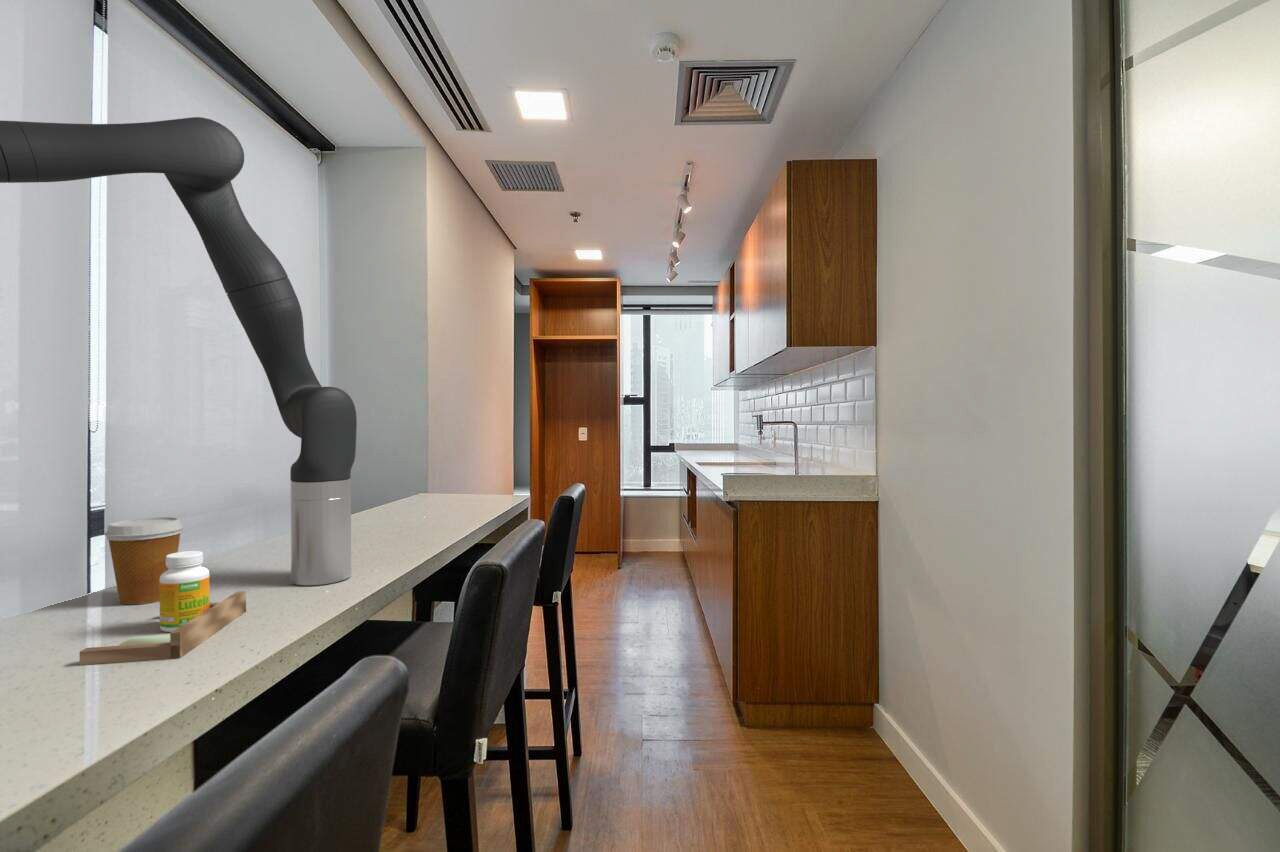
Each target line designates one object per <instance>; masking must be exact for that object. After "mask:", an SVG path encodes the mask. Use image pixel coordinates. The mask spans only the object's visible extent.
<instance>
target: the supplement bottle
mask: <svg viewBox="0 0 1280 852" xmlns="http://www.w3.org/2000/svg"><path fill="white" fill-rule="evenodd" d="M203 563H204V553H203V551H200V550H191V551H190V550H188V551H178V553H173V554H169V555H167V556H166V567H168V571H166V572H164V573H163V574H162V575H161V576H160V583H159V586H160V601H159V628H160V630H161V631H162V632H167V633H171V632H173V631H174V630H176V629H177V628H179V627H181V626H182V625H184V624H186V623H187V622H189V621H190V620H192V619H194V618H195V617H197V616H199V615H200V614H202V613H203V612H205V611H207V610H208V609H210V603H211V602H210V601H211V600H210V598H211V597H210V596H211V595H210V592H211V591H210V589H211V588H210V585H211V584H210V578H211V577H210V576H211V575H210V570H209V569H208V568H207V567H205V566H202V564H203Z"/></svg>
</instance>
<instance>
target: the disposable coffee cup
mask: <svg viewBox="0 0 1280 852" xmlns="http://www.w3.org/2000/svg"><path fill="white" fill-rule="evenodd" d="M183 529H185V525H183V524H182V521H181V518H180V517H173V516H159V517H158V516H157V517H156V516H155V517H142V518H134V519H125V520H119V521H115V522H111V523H108V526H107V529H106V531H105V532H104V534H103V535H104V536H105V537H106V540H108V543H109V550H110V555H111V561H112V566H113V572H114V578H115V579H114V580H115V583H116V589H117V594H118V600H119V601H118V602H119V604H120V603H122V604H121V605H125V604H136V605H145V604H144V603H146V604H150V603H151V602H152V603H155V602H156V601H157V602H160V586H159V583H160V576H161V575H162V574H163V573H164V572H166V571H168V567H166V556H167V555H169V554H173V553H178V552H179V547H180V546H179V545H180V538H181V533H183ZM152 603H151V604H152Z"/></svg>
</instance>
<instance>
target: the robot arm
mask: <svg viewBox="0 0 1280 852" xmlns="http://www.w3.org/2000/svg"><path fill="white" fill-rule="evenodd" d="M244 152H245V151H244V149H243V146H242V144H241V142H240V140H239V139H238V137H237V136H236V135H235V133H234V132H233V131H231V130H230V129H229V128H228V127H227V126H225V125H223V124H221V123H220V122H218V121H217V120H213V119H210V118H205V117H202V116H201V117H200V116H194V117H192V116H191V117H183V118H175V119H165V120H156V121H146V122H129V123H126V122H125V123H65V122H42V121H41V122H39V121H23V120H21V121H20V120H0V184H2V183H5V184H7V183H8V184H13V183H15V184H16V183H17V184H19V183H21V184H22V183H25V184H26V183H28V184H29V183H56V182H68V181H69V182H70V181H78V180H86V179H87V180H88V179H94V178H101V177H108V176H116V175H126V174H164V176H165V178H166V180H167V181H168V183H169V184H170V186H171V187H172V189H173V191H174V192H175V194H176V196H177V197H178V199H179V200H180V203H182V205H183V207H184V209H185V211H186V212H187V214H188V215H189V217H190V218H191V220H192V222H193V225H194V226H195V228H196V230H197V232H198V234H199V236H200V239H201V241H202V243H203V245H204V248H205V250H206V252H207V255H208V256H209V259H210V261H211V264H212V265H213V268H214V270H215V272H216V275H217V276H218V278H219V280H220V282H221V285H222V288H223V289H224V292H225V294H226V296H227V298H228V300H229V302H230V305H231V307H232V309H233V311H234V312H235V315H236V317H237V318H238V320H239V322H240V324H241V326H242V328H243V330H244V332H245V335H246V336H247V338H248V340H249V342H250V344H251V346H252V349H253V350H254V352H255V354H256V357H257V359H258V360H259V362H260V364H261V365H262V368H263V370H264V373H265V375H266V377H267V380H268V383H269V385H270V389H271V390H272V391H271V392H272V394H273V398H274V400H275V402H276V406H277V408H278V411H279V414H280V417H281V419H282V421H283V424H284V425H285V426H286V428H287V429H288V430H289V432H291V433H292V434H293V435H294V436H296V437H298V438H299V439H300V450H299V452H300V453H299V455H298V458H297V459H296V461H294V462H293V463H292V464H291V466H290V473H289V474H290V550H291V551H290V554H291V555H290V557H291V558H290V572H291V573H290V574H291V576H290V577H291V581H290V582H291V583H292V584H293V585H297V586H319V585H320V586H321V585H327V584H334V583H338V582H342V581H344V580H347V579H349V578H351V576H352V499H351V498H352V495H351V492H352V491H351V486H352V485H351V484H352V483H351V473H352V469H353V465H354V463H355V460H356V454H357V453H356V449H357V427H358V426H357V421H358V420H357V412H356V411H357V409H356V406H355V403H354V401H353V399H352V397H351V396H350V394H348V392H346V391H345V390H343V389H341V388H339V387H334V386H322V384H321V383H320V381H319V380H318V378H317V376H316V373H315V371H314V370H313V368H312V366H311V364H310V360H309V358H308V355H307V352H306V348H305V347H306V346H305V329H304V327H305V326H304V317H303V312H302V308H301V307H302V306H301V304H300V301H299V299H298V296H297V294H296V292H295V289H294V287H293V285H292V283H291V281H290V278H289V276H288V274H287V272H286V270H285V267H283V264H282V263H281V262H280V260H279V259H278V257H277V256H276V255H275V253H274V252H273V251H272V250H271V248H269V246H268V245H267V244H266V242H264V241H263V239H262V238H261V237H260V236H259V235H258V234H257V232H256V231H255V230H254V228H253V227H252V225H251V224H250V223H249V221H248V219H247V218H246V216H245V214H244V212H243V209H242V207H241V205H240V202H239V200H238V198H237V197H238V196H236V193H235V190H234V187H233V183H232V181H233V180H234V179H235V178H236V177H237V176H238V175H239V174H240V172H241V171H242V169H243V166H244V162H245V153H244Z"/></svg>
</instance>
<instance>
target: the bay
mask: <svg viewBox="0 0 1280 852" xmlns="http://www.w3.org/2000/svg"><path fill="white" fill-rule="evenodd" d="M246 592H247V591H246V590H237V591H236V592H234V593H233V594H231V595H229V596H228V597H227V598H224V599H223V600H221V601H219V602H218V601H217V602H210V609H208V610H207V611H205V612H203V613H202V614H200V615H199V616H197V617H195V618H194V619H192V620H190V621H189V622H187V623H186V624H184V625H182V626H181V627H179V628H177V629H176V630H174V631H173V632H169V633H170V634H165V635H163V634H162V635H149V636H134V637H133V636H132V637H130V638H129V639H127V640H125V641H123V642H122V643H120V644H118V645H109V646H94V647H93V646H92V647H86V648H83V649H82V650H80V651H79V666H82V665H83V666H84V665H97V664H98V665H99V664H111V663H112V664H113V663H127V662H141V661H153V660H154V661H156V660H170V659H171V660H172V659H181V658H183V657H184V656H185V655H186V654H189V652H191V651H193V650H194V649H195V648H197V647H198V646H199V645H201V644H202V643H203V642H205V641H206V640H208V639H209V638H211V637H212V636H213V635H215V634H216V633H218V632H220V631H221V630H222V629H224V627H226V626H228V624H230V623H232V622H233V621H234V620H236V619H237V618H239V617H240V616H241V615H243V614H244V613H246V612H247V593H246Z"/></svg>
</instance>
